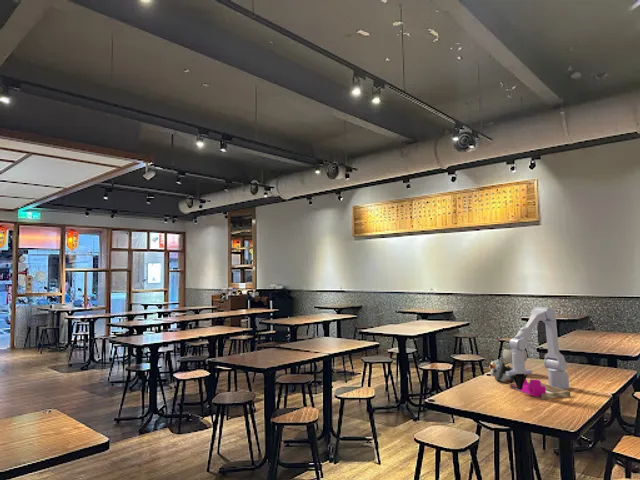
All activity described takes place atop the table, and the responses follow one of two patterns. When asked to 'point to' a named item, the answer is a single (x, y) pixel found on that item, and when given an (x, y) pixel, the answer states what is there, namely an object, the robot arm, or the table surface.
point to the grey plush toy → (500, 371)
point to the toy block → (533, 388)
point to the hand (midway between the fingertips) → (519, 389)
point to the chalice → (508, 355)
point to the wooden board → (550, 391)
